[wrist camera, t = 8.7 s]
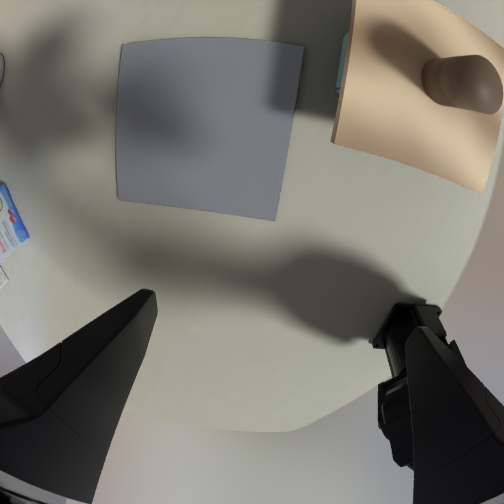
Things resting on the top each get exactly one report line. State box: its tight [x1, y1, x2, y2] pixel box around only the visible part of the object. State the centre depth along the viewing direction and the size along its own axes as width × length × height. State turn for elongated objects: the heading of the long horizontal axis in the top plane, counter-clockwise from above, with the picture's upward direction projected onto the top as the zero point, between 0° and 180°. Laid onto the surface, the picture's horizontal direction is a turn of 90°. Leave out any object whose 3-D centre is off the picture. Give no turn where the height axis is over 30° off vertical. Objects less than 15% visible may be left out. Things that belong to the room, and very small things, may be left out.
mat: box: [116, 37, 304, 221], centre depth 17 cm, size 13×13×1 cm
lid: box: [331, 0, 504, 195], centre depth 8 cm, size 11×11×5 cm
